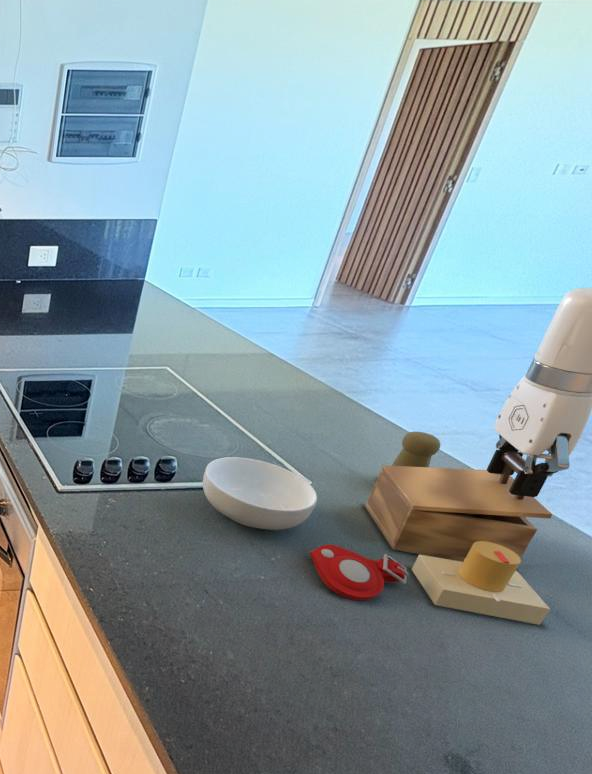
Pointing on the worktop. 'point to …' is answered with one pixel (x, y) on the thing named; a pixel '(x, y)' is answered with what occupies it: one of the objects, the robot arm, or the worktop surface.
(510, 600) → the lock plate
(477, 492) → the hinged box cover
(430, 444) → the cork
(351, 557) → the tracker holder
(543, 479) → the robot arm
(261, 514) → the cereal bowl
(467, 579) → the lock knob
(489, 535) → the chest
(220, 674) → the worktop surface
